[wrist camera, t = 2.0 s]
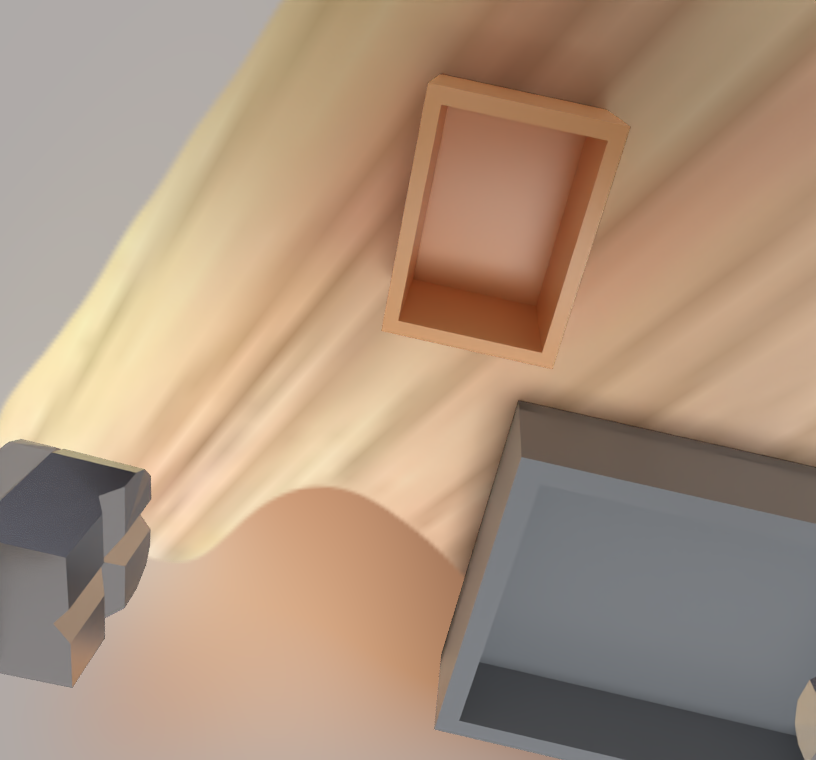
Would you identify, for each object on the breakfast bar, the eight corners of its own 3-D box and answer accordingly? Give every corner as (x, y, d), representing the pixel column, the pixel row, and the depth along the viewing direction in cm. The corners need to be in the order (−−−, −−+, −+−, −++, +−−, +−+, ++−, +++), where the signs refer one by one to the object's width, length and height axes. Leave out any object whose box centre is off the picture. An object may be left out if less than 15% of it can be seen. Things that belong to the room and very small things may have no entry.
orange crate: (606, 109, 24) (630, 126, 20) (544, 316, 28) (552, 369, 24) (440, 73, 25) (427, 83, 20) (399, 284, 28) (381, 330, 24)
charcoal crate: (977, 504, 30) (1051, 577, 26) (808, 740, 37) (845, 826, 33) (518, 400, 30) (521, 456, 26) (441, 654, 37) (434, 729, 33)
